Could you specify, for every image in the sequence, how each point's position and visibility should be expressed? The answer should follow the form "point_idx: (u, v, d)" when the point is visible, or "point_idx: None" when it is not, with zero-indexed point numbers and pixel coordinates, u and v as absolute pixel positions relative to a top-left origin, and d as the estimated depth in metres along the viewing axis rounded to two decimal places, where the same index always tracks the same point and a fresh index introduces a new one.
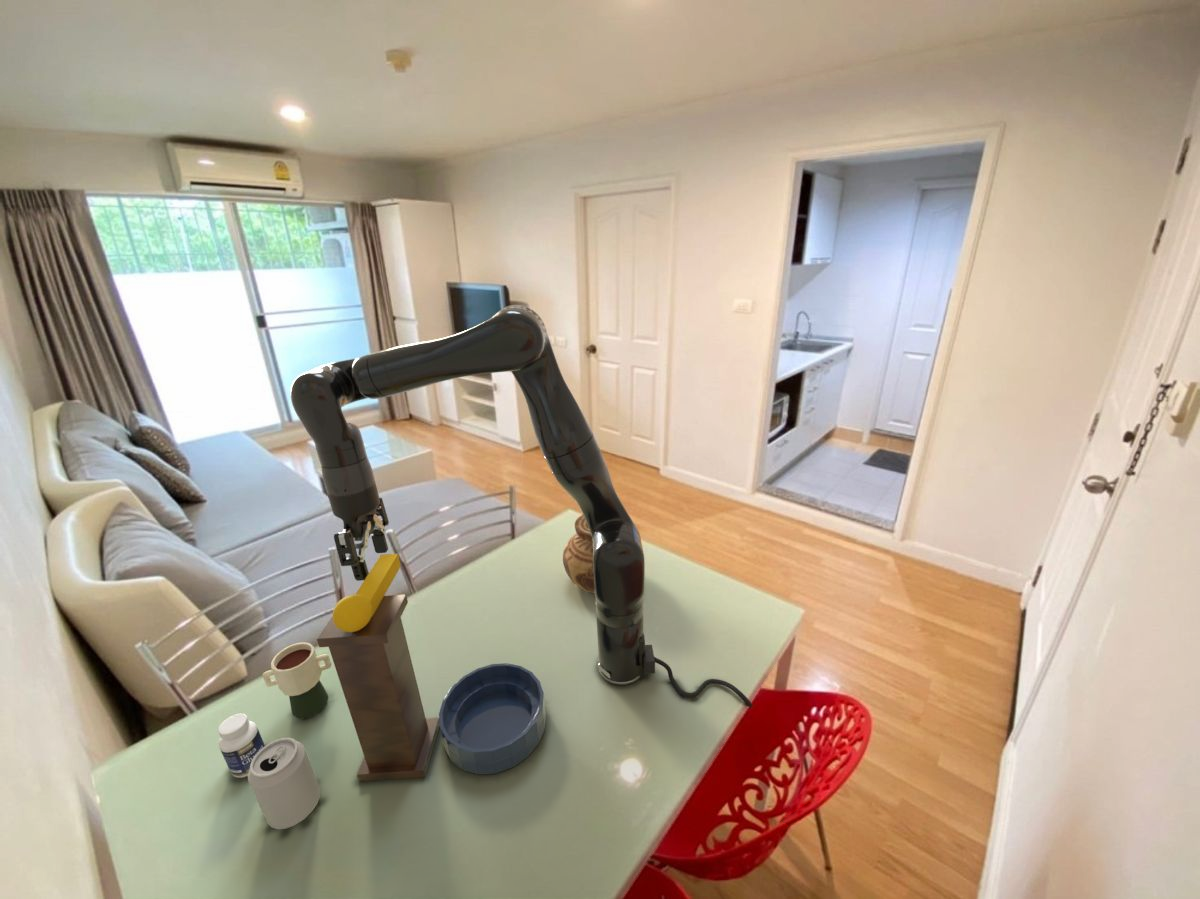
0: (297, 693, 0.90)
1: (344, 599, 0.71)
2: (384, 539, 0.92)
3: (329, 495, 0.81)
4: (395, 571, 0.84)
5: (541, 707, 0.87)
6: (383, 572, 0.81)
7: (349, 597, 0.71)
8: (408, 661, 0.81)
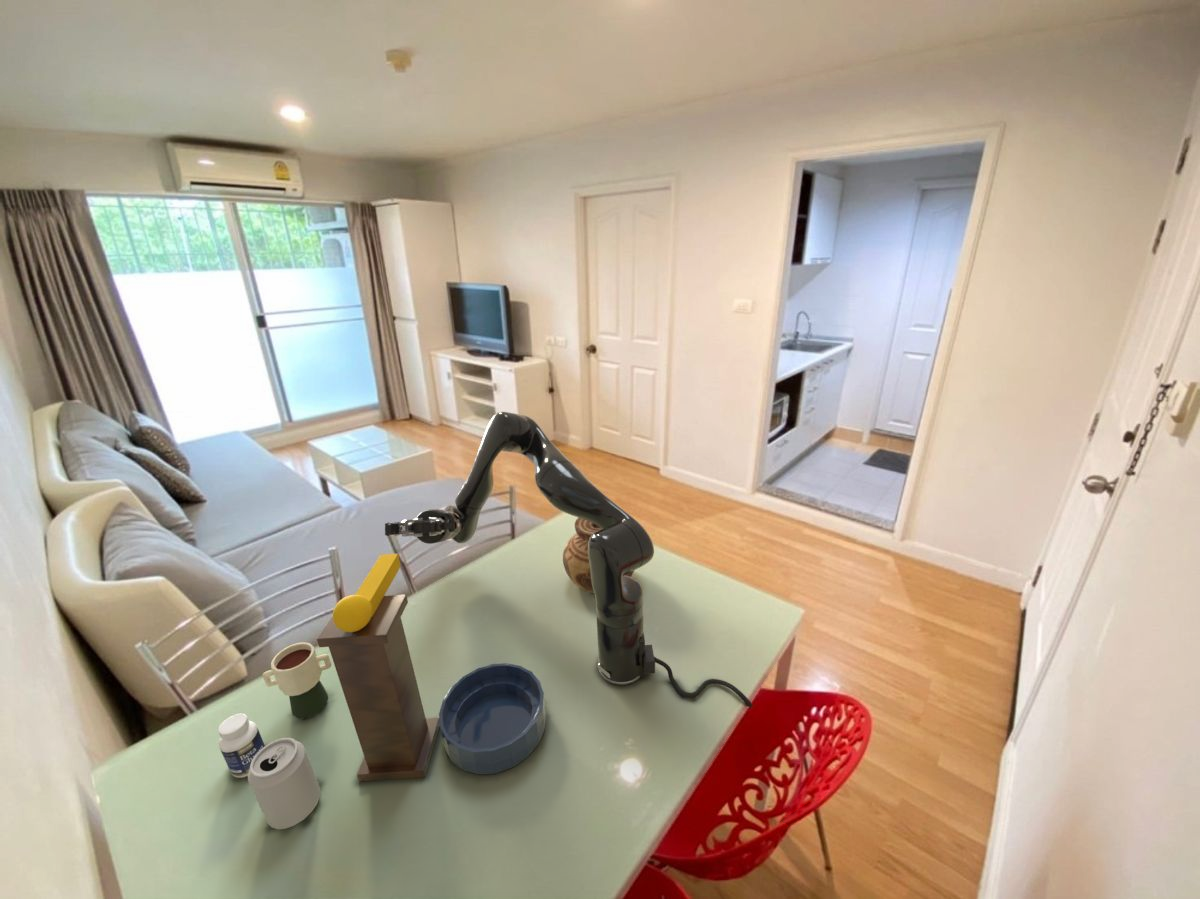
0: (297, 693, 0.90)
1: (344, 599, 0.71)
2: (436, 521, 0.99)
3: None
4: (395, 571, 0.84)
5: (541, 707, 0.87)
6: (383, 572, 0.81)
7: (349, 597, 0.71)
8: (408, 661, 0.81)
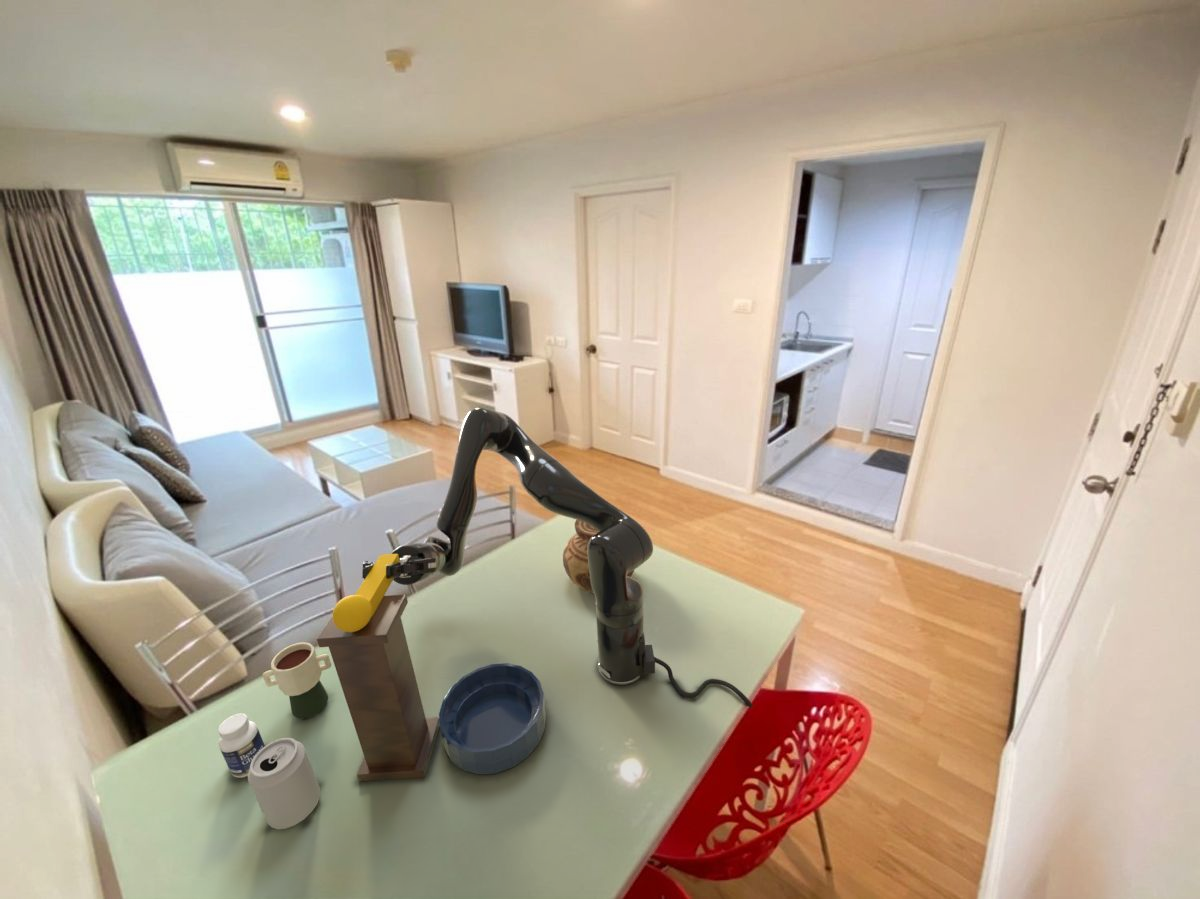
0: (297, 693, 0.90)
1: (344, 599, 0.71)
2: (394, 563, 0.83)
3: None
4: None
5: (541, 707, 0.87)
6: (382, 572, 0.81)
7: (349, 597, 0.71)
8: (408, 661, 0.81)
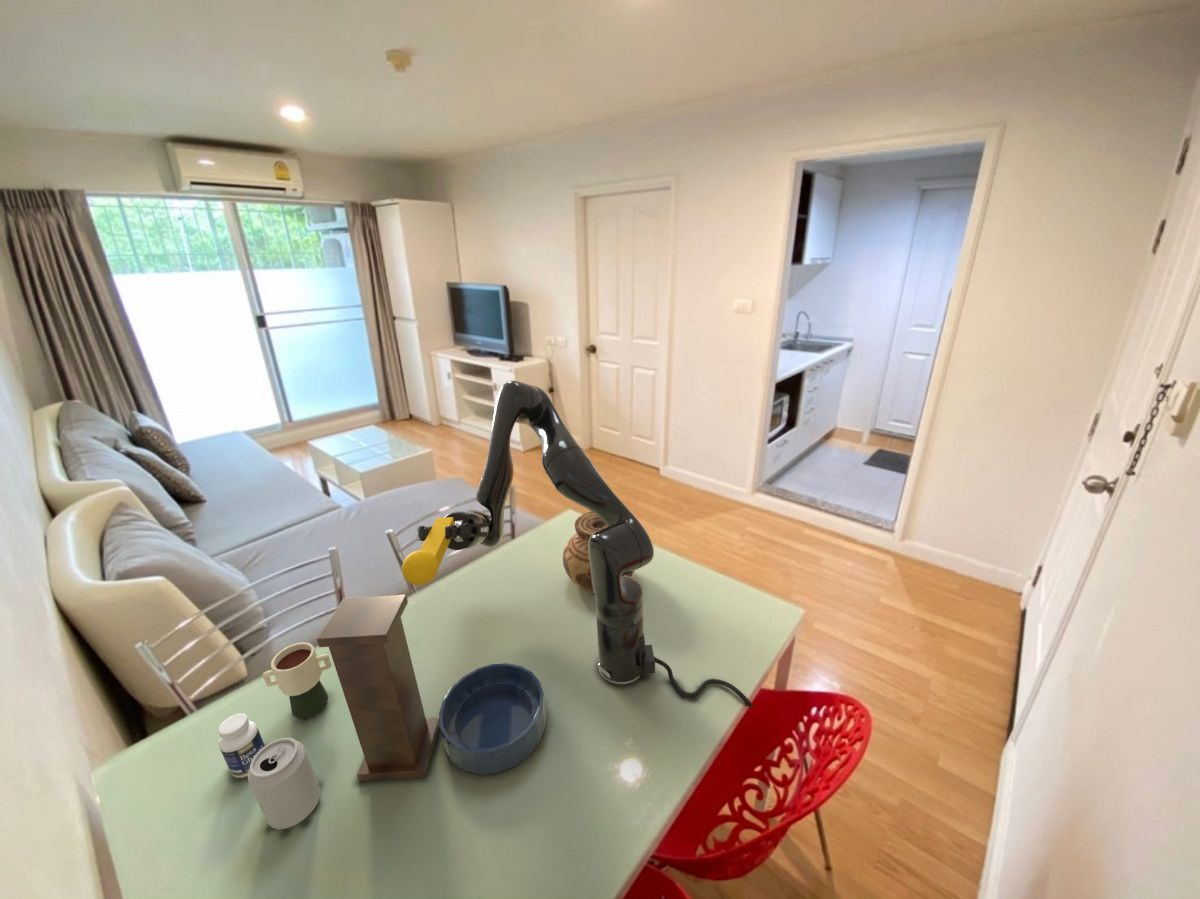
0: (297, 693, 0.90)
1: (413, 553, 0.74)
2: None
3: None
4: None
5: (541, 707, 0.87)
6: (442, 533, 0.84)
7: (417, 551, 0.74)
8: (408, 661, 0.81)
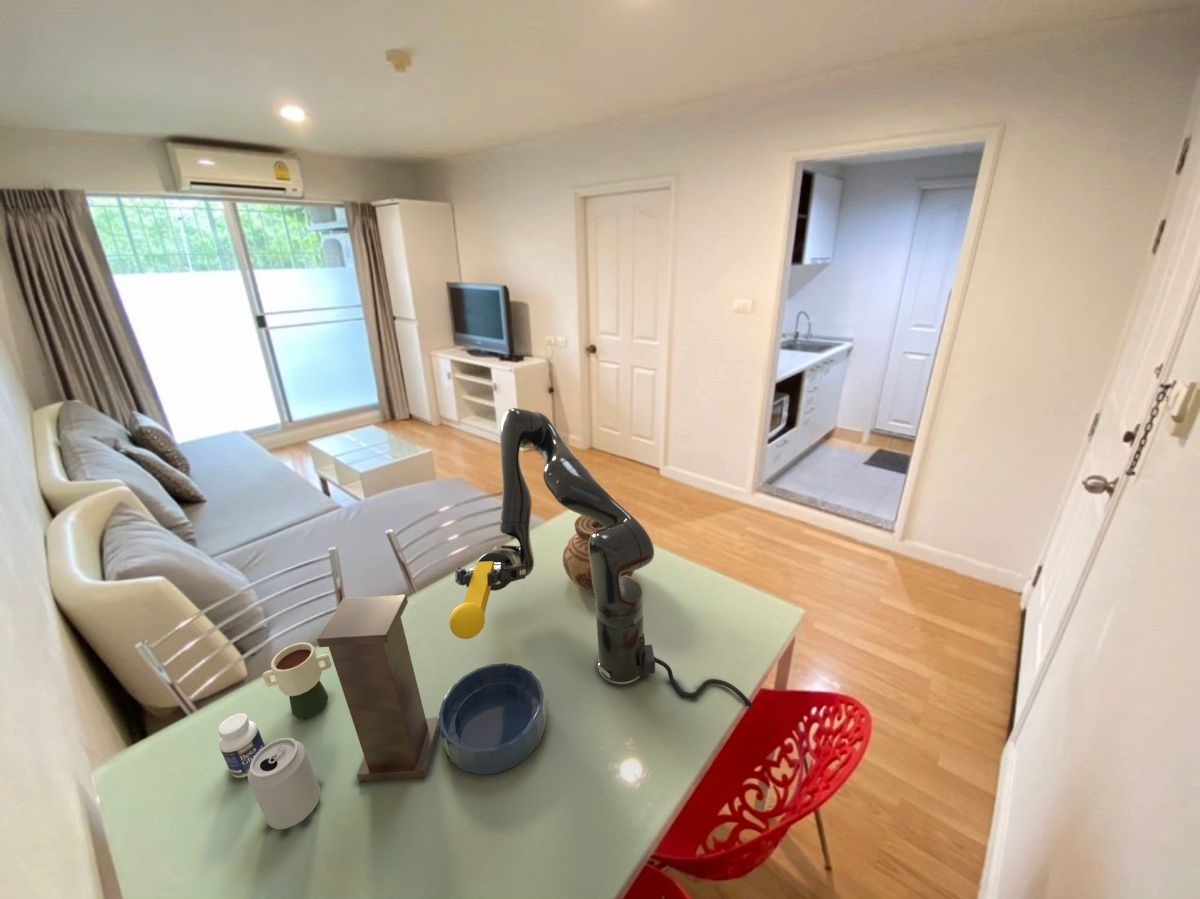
0: (297, 693, 0.90)
1: (460, 607, 0.73)
2: (492, 571, 0.86)
3: None
4: None
5: (541, 707, 0.87)
6: (484, 579, 0.83)
7: (465, 605, 0.74)
8: (408, 661, 0.81)
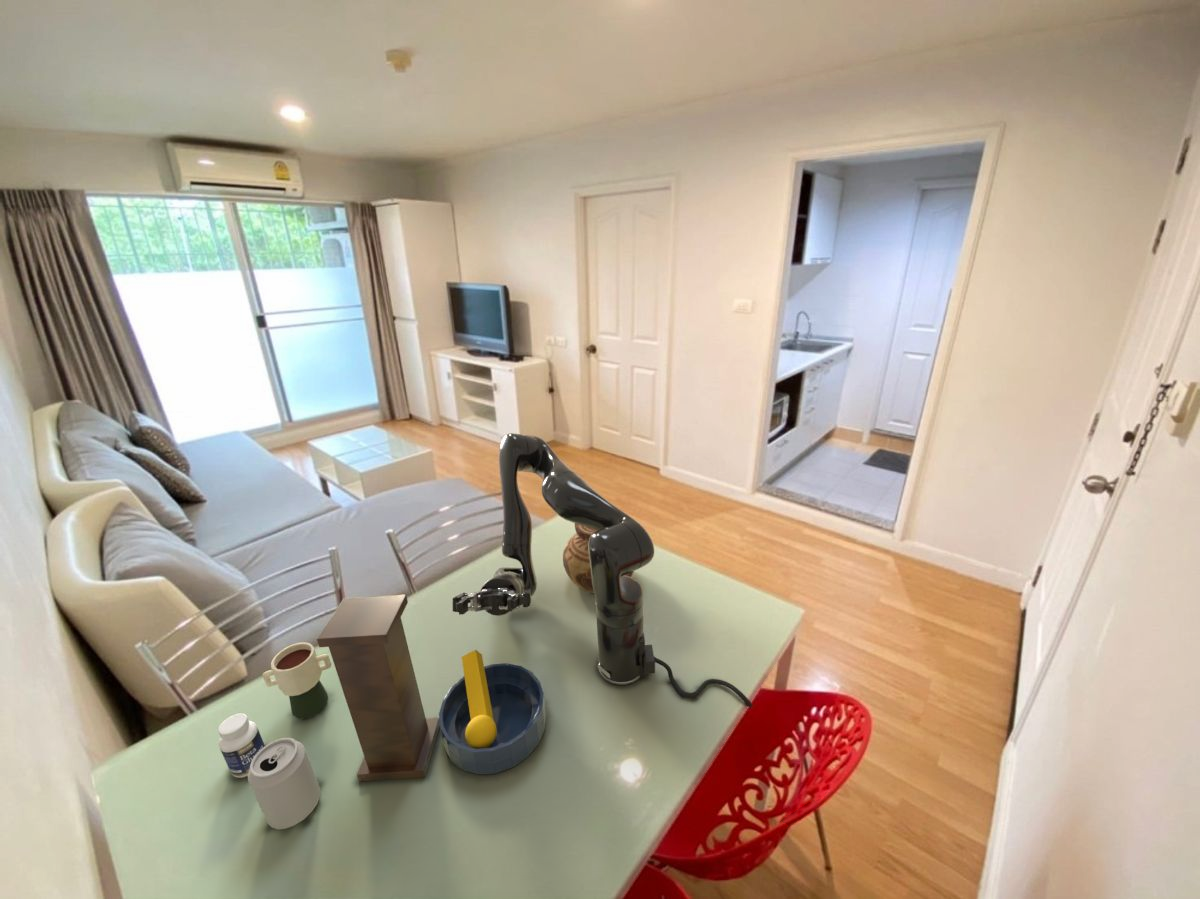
0: (297, 693, 0.90)
1: (470, 729, 0.82)
2: (511, 596, 0.89)
3: None
4: (482, 664, 0.94)
5: (541, 707, 0.87)
6: (476, 676, 0.90)
7: (473, 726, 0.82)
8: (408, 661, 0.81)
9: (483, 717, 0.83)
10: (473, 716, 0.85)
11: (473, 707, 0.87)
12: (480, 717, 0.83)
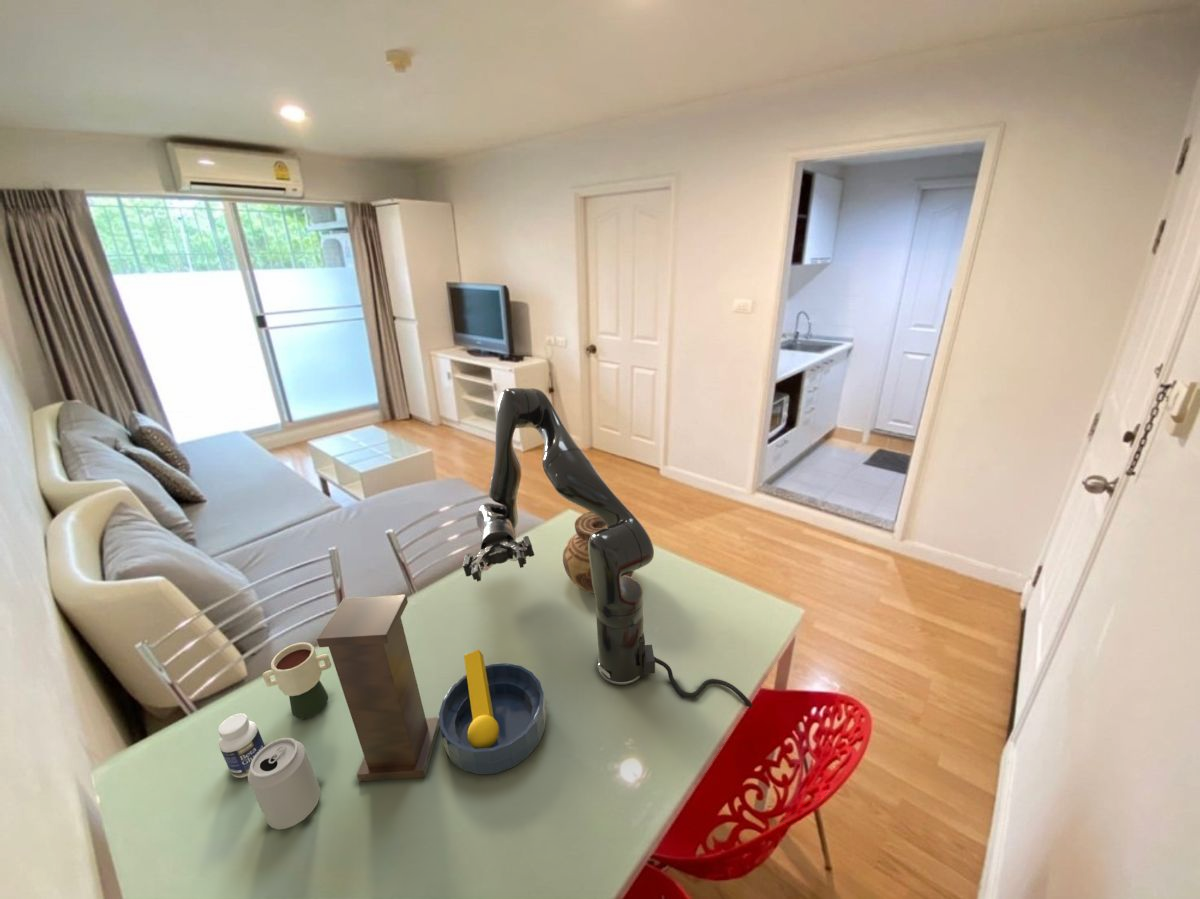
0: (297, 693, 0.90)
1: (474, 728, 0.82)
2: (518, 553, 0.98)
3: None
4: (484, 665, 0.94)
5: (541, 707, 0.87)
6: (479, 676, 0.91)
7: (478, 725, 0.82)
8: (408, 661, 0.81)
9: (487, 717, 0.84)
10: (475, 715, 0.86)
11: (475, 706, 0.87)
12: (484, 717, 0.83)
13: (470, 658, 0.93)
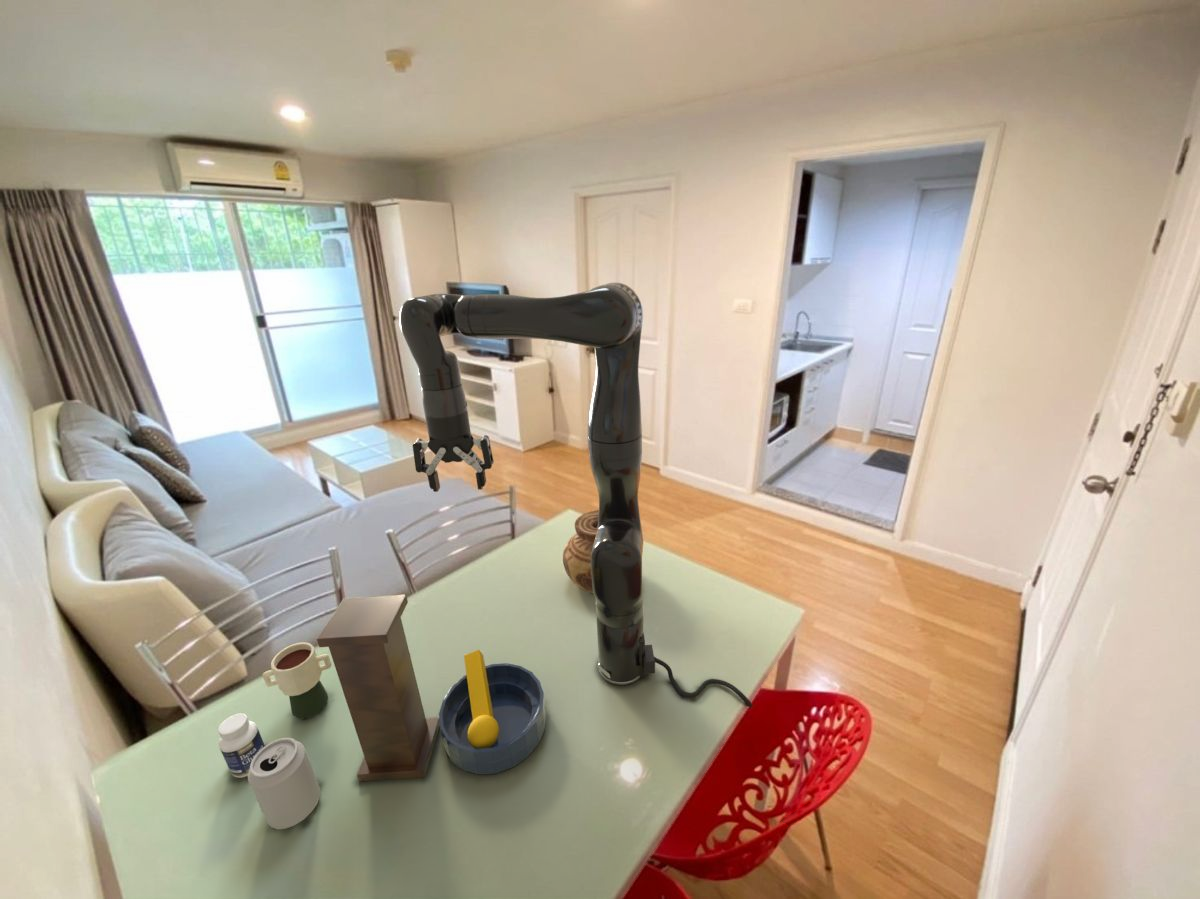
0: (297, 693, 0.90)
1: (474, 728, 0.82)
2: (477, 477, 0.94)
3: None
4: (484, 665, 0.94)
5: (541, 707, 0.87)
6: (479, 676, 0.91)
7: (478, 725, 0.82)
8: (408, 661, 0.81)
9: (487, 717, 0.84)
10: (475, 715, 0.86)
11: (475, 706, 0.87)
12: (484, 717, 0.83)
13: (470, 658, 0.93)
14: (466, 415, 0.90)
